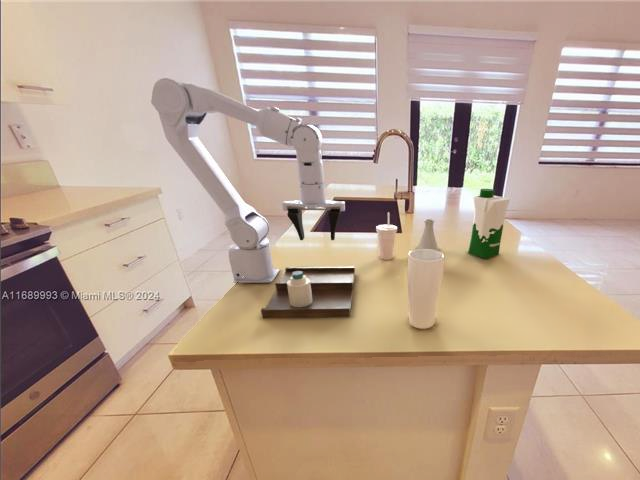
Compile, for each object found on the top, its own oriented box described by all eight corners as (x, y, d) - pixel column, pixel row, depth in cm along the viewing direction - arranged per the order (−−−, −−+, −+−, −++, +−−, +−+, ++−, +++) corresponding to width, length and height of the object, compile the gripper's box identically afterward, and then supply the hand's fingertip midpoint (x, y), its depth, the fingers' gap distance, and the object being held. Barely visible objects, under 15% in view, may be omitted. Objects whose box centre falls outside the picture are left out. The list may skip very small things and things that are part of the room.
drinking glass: (428, 336, 61) (434, 264, 54) (399, 325, 64) (401, 255, 57) (443, 320, 66) (450, 253, 59) (415, 311, 69) (419, 246, 62)
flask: (441, 249, 106) (444, 219, 102) (432, 255, 101) (434, 224, 96) (423, 245, 110) (424, 216, 105) (412, 250, 104) (414, 220, 99)
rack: (262, 318, 65) (260, 306, 64) (287, 276, 84) (285, 267, 82) (349, 316, 66) (349, 305, 65) (355, 276, 85) (354, 266, 84)
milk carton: (480, 247, 109) (489, 187, 99) (503, 255, 102) (514, 191, 93) (464, 252, 104) (471, 189, 94) (486, 260, 97) (497, 194, 88)
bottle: (287, 307, 67) (282, 277, 64) (292, 297, 71) (288, 268, 68) (310, 307, 68) (306, 277, 64) (314, 296, 72) (310, 268, 69)
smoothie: (394, 262, 95) (395, 215, 88) (373, 260, 96) (373, 214, 89) (398, 255, 100) (399, 210, 94) (379, 253, 101) (379, 209, 95)
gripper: (275, 184, 69) (284, 244, 75) (341, 185, 70) (345, 244, 76) (283, 180, 75) (291, 235, 82) (344, 181, 76) (347, 235, 83)
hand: (317, 239), depth 79 cm, fingers open, 7 cm apart
